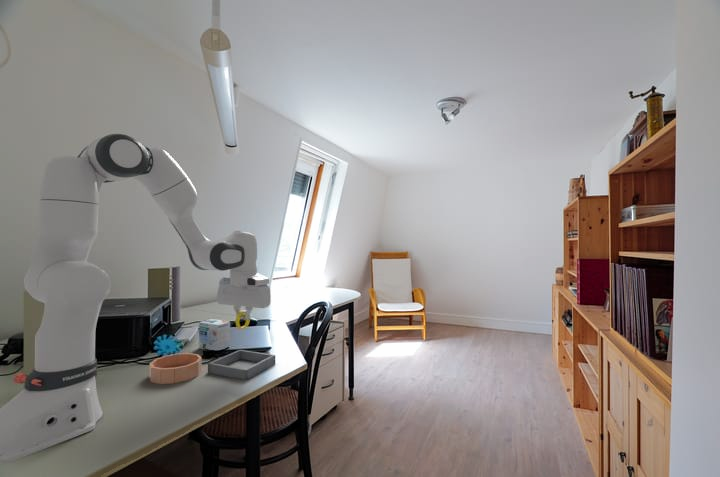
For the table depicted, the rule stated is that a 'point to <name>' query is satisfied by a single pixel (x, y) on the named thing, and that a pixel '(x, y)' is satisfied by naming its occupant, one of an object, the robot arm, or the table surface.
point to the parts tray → (222, 369)
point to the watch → (239, 320)
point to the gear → (167, 345)
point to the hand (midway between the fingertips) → (242, 318)
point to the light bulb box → (213, 332)
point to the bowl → (175, 368)
